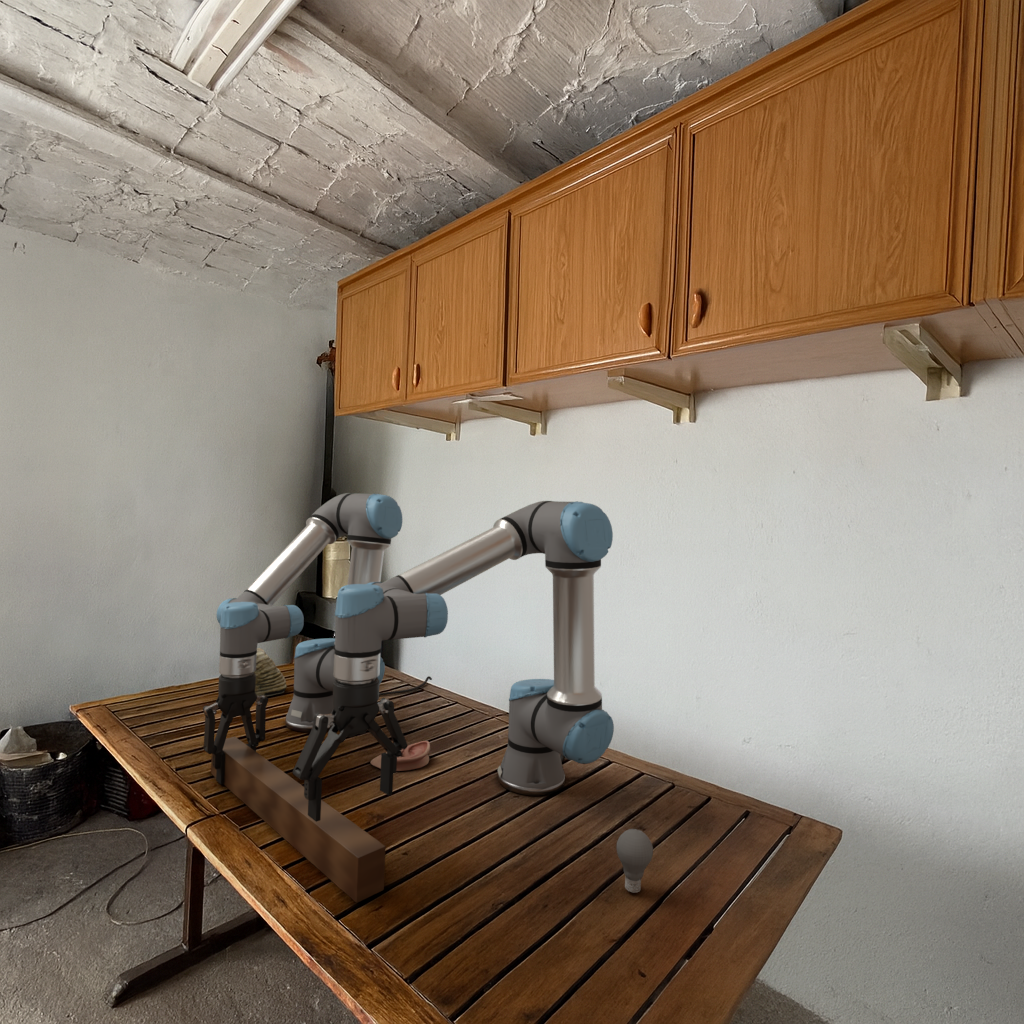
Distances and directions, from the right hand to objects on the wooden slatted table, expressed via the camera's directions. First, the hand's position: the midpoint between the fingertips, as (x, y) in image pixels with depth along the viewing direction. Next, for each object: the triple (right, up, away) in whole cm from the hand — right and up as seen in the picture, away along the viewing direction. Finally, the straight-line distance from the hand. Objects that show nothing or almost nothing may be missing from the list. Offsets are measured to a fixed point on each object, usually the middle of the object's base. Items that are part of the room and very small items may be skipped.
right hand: (351, 804), depth 106 cm
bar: (-18, -11, +17) cm, 27 cm away
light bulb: (+47, -15, 0) cm, 49 cm away
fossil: (-54, -8, +92) cm, 107 cm away
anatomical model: (0, -12, +47) cm, 48 cm away
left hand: (-35, -10, +34) cm, 49 cm away
